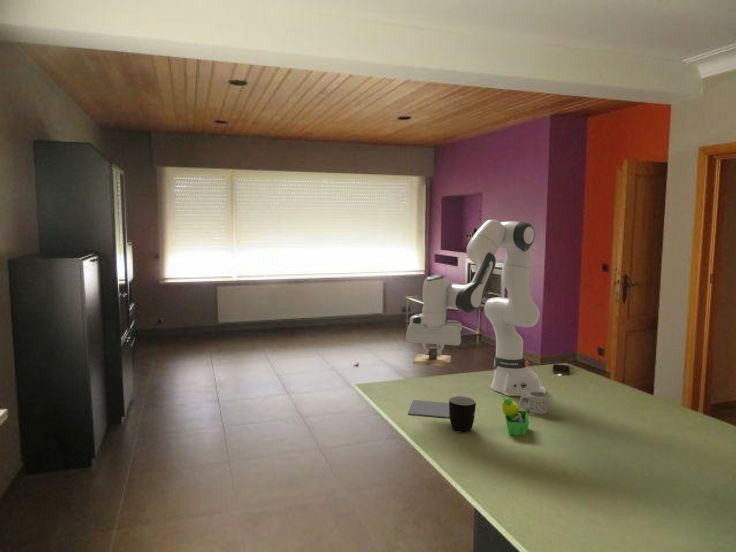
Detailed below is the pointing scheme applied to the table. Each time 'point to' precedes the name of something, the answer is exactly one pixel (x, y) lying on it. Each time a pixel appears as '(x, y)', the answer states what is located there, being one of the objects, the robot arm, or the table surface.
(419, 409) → the mat
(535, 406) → the mug
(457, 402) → the mug
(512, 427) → the fruit basket
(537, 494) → the table surface
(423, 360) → the lid
